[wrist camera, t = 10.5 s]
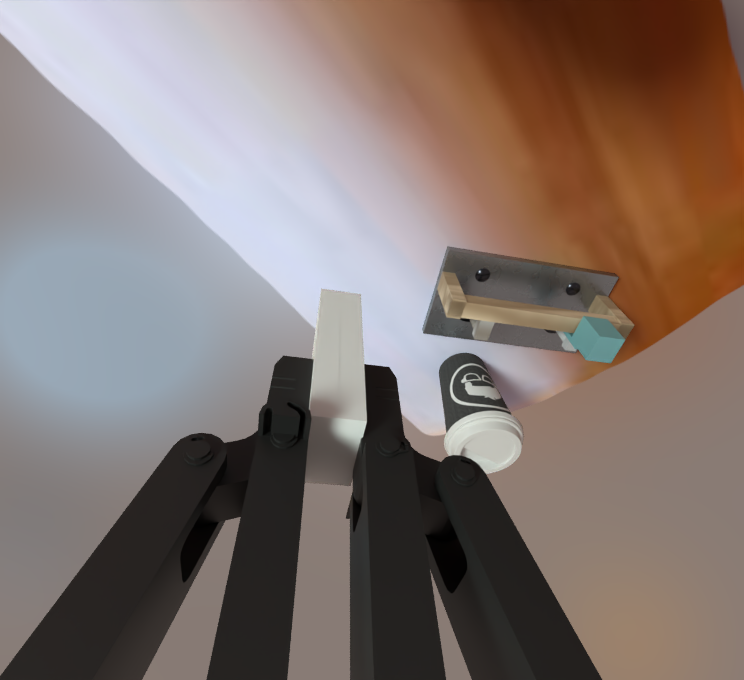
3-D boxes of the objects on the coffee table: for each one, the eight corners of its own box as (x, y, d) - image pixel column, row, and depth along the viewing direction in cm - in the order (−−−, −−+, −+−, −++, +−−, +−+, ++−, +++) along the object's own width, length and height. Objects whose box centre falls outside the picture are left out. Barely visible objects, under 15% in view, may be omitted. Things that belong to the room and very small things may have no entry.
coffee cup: (416, 363, 63) (432, 445, 51) (478, 333, 61) (510, 412, 48) (446, 404, 68) (467, 487, 56) (504, 377, 66) (540, 459, 53)
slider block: (561, 287, 55) (599, 336, 47) (583, 290, 56) (625, 339, 47) (542, 324, 59) (576, 376, 50) (563, 327, 59) (600, 379, 51)
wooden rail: (442, 271, 54) (452, 298, 48) (607, 296, 57) (634, 325, 52) (431, 307, 57) (439, 337, 51) (589, 329, 60) (612, 359, 55)
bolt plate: (447, 246, 53) (449, 250, 52) (614, 273, 56) (619, 277, 55) (422, 328, 60) (423, 333, 59) (572, 348, 63) (576, 353, 62)
